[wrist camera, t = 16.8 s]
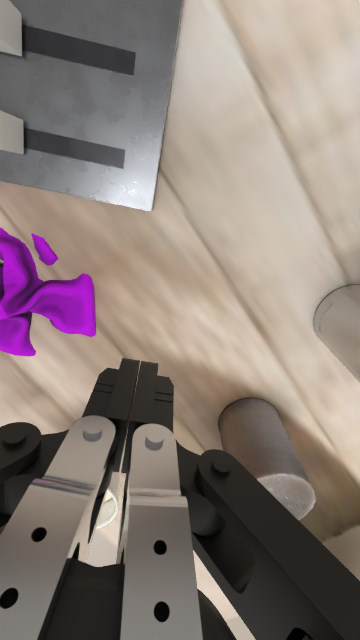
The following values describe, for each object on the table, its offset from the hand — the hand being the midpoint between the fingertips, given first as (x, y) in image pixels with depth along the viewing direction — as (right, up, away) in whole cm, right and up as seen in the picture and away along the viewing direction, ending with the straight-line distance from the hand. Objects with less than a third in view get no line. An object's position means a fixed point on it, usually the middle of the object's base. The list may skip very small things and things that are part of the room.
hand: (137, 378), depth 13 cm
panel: (-9, +28, +17) cm, 34 cm away
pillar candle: (+13, -14, +36) cm, 41 cm away
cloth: (-19, +7, +27) cm, 34 cm away
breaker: (-15, +21, +17) cm, 31 cm away
